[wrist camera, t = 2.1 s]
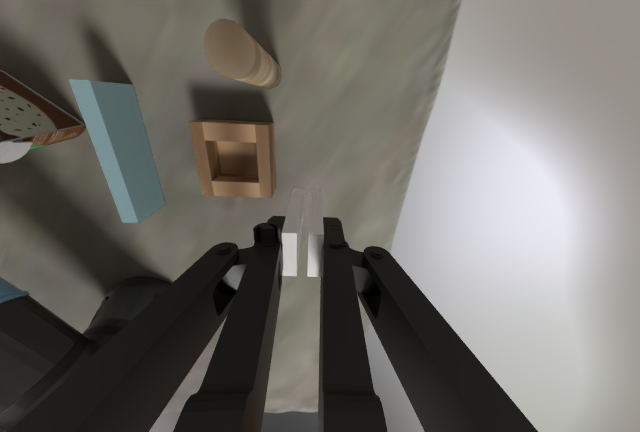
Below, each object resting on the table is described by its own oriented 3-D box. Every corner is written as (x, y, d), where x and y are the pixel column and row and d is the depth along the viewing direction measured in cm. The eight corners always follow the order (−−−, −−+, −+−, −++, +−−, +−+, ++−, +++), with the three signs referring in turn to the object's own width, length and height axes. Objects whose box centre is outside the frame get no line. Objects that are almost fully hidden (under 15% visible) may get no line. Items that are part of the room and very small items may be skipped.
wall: (152, 204, 35) (122, 222, 30) (116, 83, 28) (68, 79, 23) (165, 204, 35) (138, 223, 30) (132, 84, 28) (89, 80, 23)
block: (214, 185, 34) (202, 195, 30) (203, 119, 30) (188, 121, 26) (276, 187, 34) (271, 197, 30) (273, 122, 30) (268, 125, 26)
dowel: (255, 87, 28) (208, 76, 16) (253, 56, 27) (199, 17, 14) (281, 89, 29) (254, 79, 16) (280, 58, 27) (251, 20, 15)
